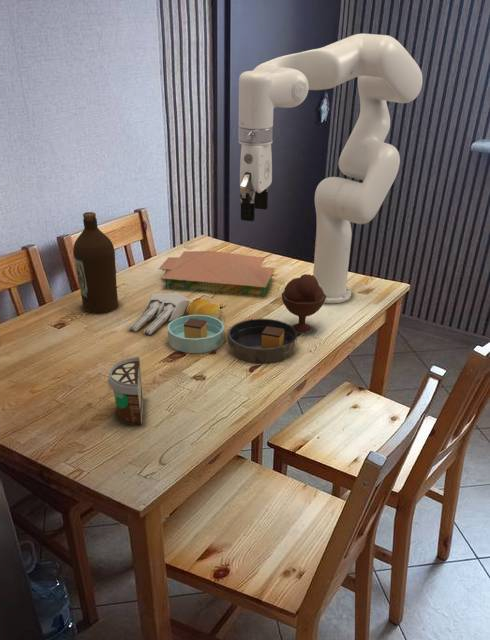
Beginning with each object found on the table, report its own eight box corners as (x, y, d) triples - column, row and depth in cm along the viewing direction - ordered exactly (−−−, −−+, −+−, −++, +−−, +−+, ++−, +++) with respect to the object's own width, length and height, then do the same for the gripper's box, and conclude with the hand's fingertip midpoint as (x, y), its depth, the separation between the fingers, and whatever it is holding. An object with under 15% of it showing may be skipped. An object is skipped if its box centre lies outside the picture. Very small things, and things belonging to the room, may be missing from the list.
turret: (124, 336, 173) (121, 321, 169) (165, 298, 185) (162, 283, 182) (157, 345, 169) (154, 329, 166) (196, 305, 181) (194, 289, 178)
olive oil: (115, 296, 189) (104, 205, 174) (124, 310, 181) (115, 217, 166) (77, 302, 185) (63, 210, 171) (85, 317, 177) (72, 222, 163)
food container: (114, 398, 144) (109, 356, 138) (143, 397, 144) (139, 355, 138) (110, 430, 134) (104, 387, 128) (141, 428, 134) (137, 385, 129)
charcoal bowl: (241, 330, 171) (241, 314, 169) (304, 339, 167) (305, 324, 164) (218, 358, 159) (217, 342, 156) (285, 370, 154) (286, 354, 152)
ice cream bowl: (328, 325, 174) (333, 269, 165) (313, 342, 165) (318, 284, 157) (290, 317, 177) (292, 262, 168) (274, 334, 169) (276, 277, 160)
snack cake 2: (266, 344, 164) (266, 326, 161) (283, 346, 163) (284, 328, 160) (261, 351, 161) (261, 332, 158) (278, 354, 160) (279, 335, 157)
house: (176, 261, 212) (175, 235, 207) (279, 269, 206) (280, 243, 201) (153, 288, 194) (151, 260, 189) (265, 298, 188) (266, 270, 183)
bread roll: (203, 325, 173) (203, 311, 171) (182, 314, 179) (182, 300, 176) (228, 317, 178) (227, 303, 175) (207, 306, 183) (206, 292, 181)
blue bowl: (182, 326, 173) (181, 311, 170) (232, 334, 169) (232, 319, 167) (159, 349, 162) (158, 334, 160) (212, 359, 158) (211, 343, 156)
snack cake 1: (191, 335, 167) (190, 318, 165) (207, 338, 166) (206, 320, 163) (184, 342, 164) (183, 324, 162) (201, 345, 163) (200, 327, 160)
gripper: (259, 144, 139) (258, 227, 149) (283, 129, 153) (280, 206, 163) (225, 142, 141) (226, 223, 151) (252, 127, 155) (251, 203, 165)
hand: (254, 214), depth 157 cm, fingers open, 9 cm apart
